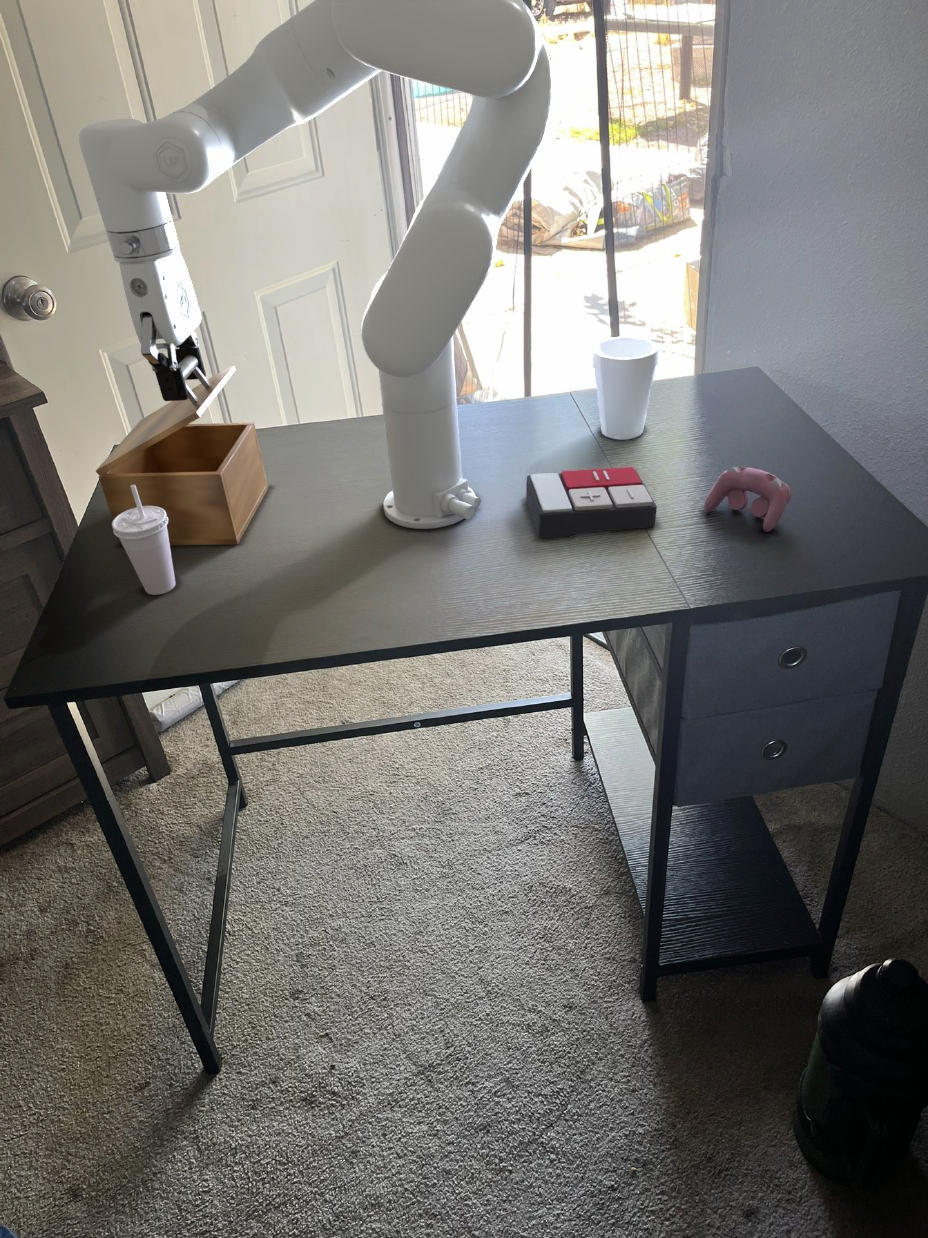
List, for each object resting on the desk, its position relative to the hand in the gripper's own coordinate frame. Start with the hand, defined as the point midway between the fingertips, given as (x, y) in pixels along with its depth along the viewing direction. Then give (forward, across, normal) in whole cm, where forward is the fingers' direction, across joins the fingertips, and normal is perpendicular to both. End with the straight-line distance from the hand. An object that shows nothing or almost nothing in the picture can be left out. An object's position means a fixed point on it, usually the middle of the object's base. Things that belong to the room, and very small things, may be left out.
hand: (185, 387), depth 117 cm
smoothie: (+19, -18, +2) cm, 26 cm away
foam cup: (+20, +24, -56) cm, 65 cm away
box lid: (+4, 0, +3) cm, 6 cm away
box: (+19, 0, +3) cm, 19 cm away
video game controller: (+21, -2, -71) cm, 74 cm away
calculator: (+20, -1, -51) cm, 54 cm away
